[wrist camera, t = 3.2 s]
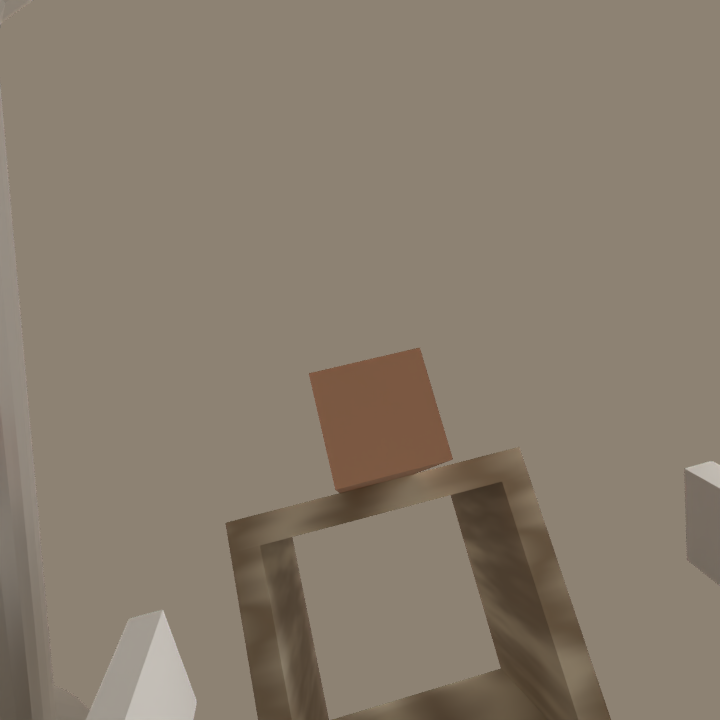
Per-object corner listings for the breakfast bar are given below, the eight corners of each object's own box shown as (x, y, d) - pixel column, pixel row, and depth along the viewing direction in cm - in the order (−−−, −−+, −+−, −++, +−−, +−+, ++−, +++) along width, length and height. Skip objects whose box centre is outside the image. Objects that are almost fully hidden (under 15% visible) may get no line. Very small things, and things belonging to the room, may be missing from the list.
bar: (335, 489, 16) (308, 373, 17) (342, 495, 39) (330, 446, 40) (453, 459, 16) (419, 347, 17) (390, 482, 39) (377, 434, 40)
